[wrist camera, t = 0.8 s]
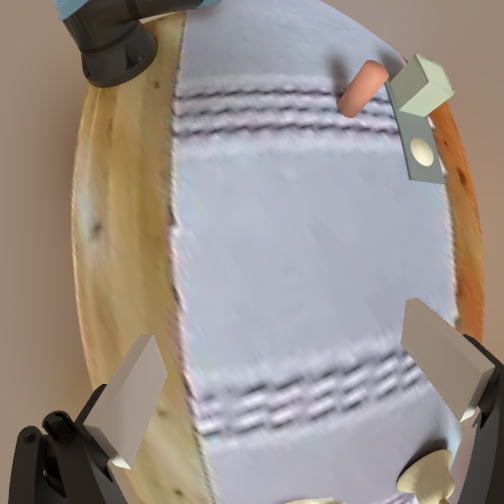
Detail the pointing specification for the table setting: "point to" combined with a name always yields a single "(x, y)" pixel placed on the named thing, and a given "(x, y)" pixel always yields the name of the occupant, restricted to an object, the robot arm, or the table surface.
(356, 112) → the peg
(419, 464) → the handbell
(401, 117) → the board
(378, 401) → the table surface
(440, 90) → the pale green block
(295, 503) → the cabin
